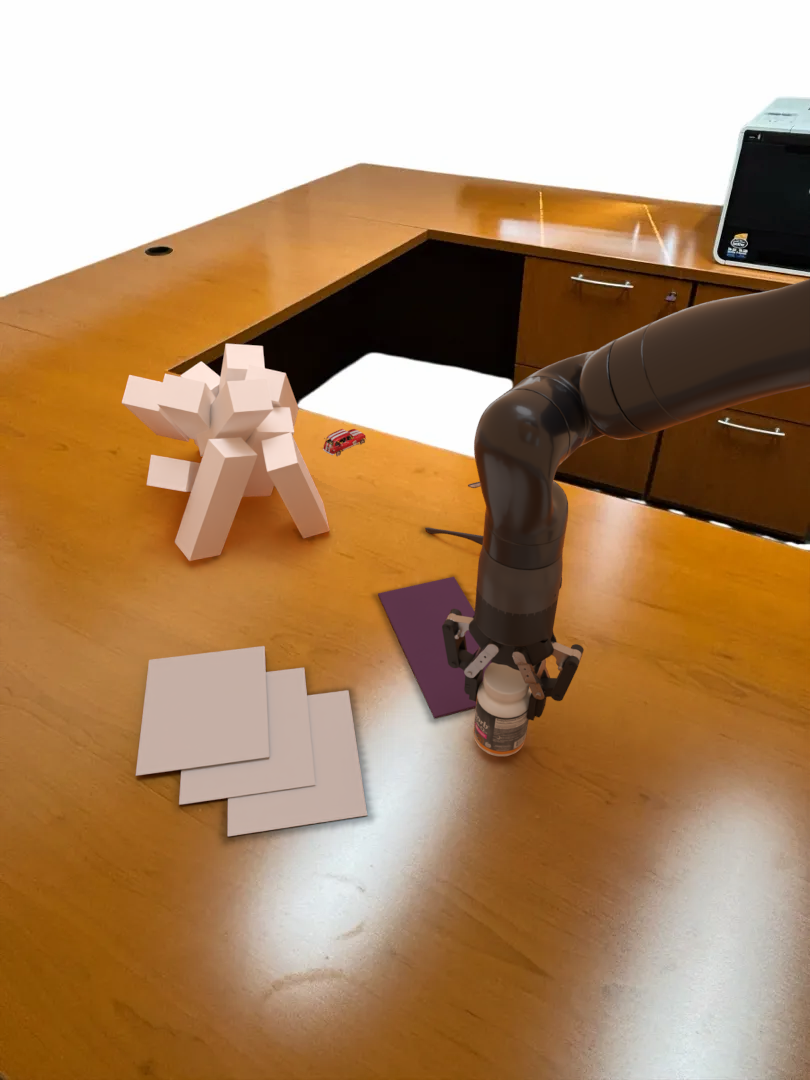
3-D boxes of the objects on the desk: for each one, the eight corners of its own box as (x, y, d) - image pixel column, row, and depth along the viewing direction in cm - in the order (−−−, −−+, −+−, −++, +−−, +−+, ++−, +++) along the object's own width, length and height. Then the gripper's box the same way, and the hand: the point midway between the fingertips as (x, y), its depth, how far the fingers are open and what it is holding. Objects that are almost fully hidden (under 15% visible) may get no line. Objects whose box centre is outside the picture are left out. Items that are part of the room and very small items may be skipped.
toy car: (368, 443, 136) (367, 427, 134) (332, 459, 131) (331, 443, 130) (355, 435, 138) (354, 419, 136) (319, 451, 134) (318, 435, 132)
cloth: (522, 695, 91) (522, 693, 91) (434, 718, 88) (434, 716, 88) (453, 578, 107) (454, 576, 107) (377, 595, 105) (377, 593, 104)
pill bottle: (466, 721, 86) (471, 660, 80) (515, 712, 87) (523, 650, 81) (482, 763, 82) (488, 701, 76) (533, 753, 83) (543, 691, 77)
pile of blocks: (111, 513, 128) (6, 392, 96) (234, 392, 137) (176, 244, 105) (267, 638, 119) (209, 549, 87) (388, 499, 128) (376, 373, 96)
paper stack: (340, 640, 98) (340, 636, 97) (367, 815, 78) (367, 811, 78) (150, 663, 95) (149, 659, 94) (128, 852, 75) (126, 848, 75)
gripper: (429, 587, 70) (426, 709, 81) (586, 632, 66) (562, 754, 76) (458, 540, 76) (452, 660, 86) (605, 579, 71) (579, 700, 82)
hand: (503, 704), depth 81 cm, fingers closed on pill bottle, 5 cm apart
